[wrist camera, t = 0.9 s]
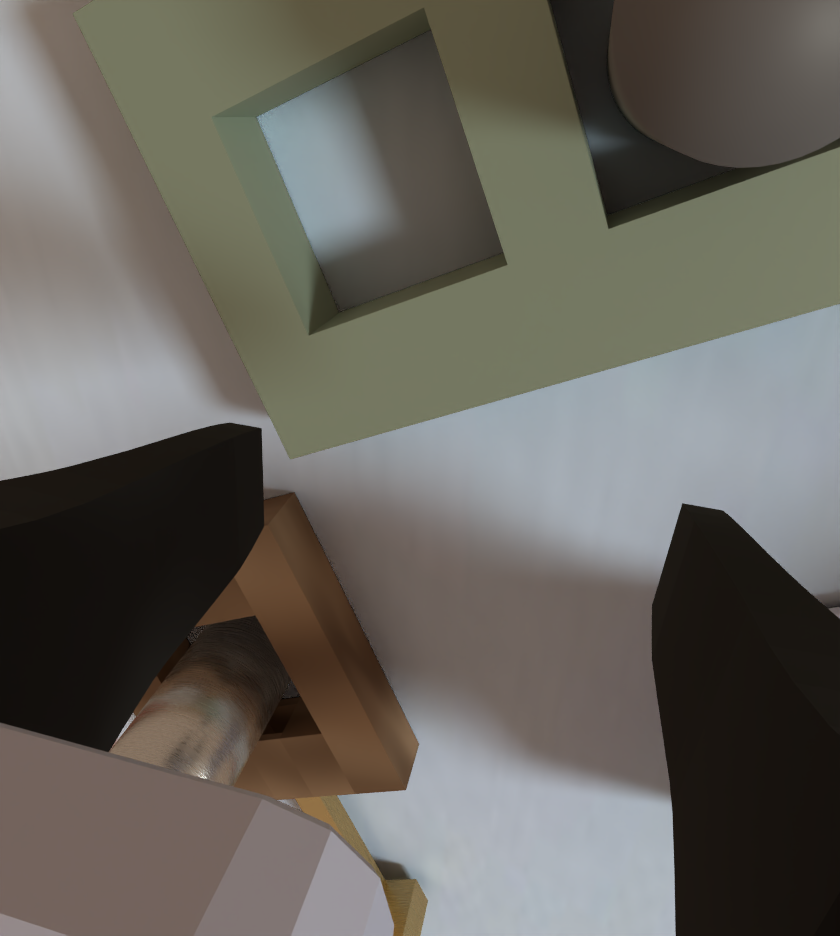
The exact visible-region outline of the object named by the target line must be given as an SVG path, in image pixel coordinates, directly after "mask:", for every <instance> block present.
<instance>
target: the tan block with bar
mask: <svg viewBox="0 0 840 936" xmlns="http://www.w3.org/2000/svg"><path fill="white" fill-rule="evenodd" d="M295 799H296V801H297V803H298V804H299V806H300V807H301V809H302V811H303V812H304V813H306V814H308V815H310V816H313V817H315V818H317V819H319V820H321V821H323V822H326V823H328V824H330V825H331V826H332V827H333V828H334V829H335V830H336V831H337V832H338V833H339V834H340V835H341V836H342V837H343V838H344V839H345V840H346V841H347V842H348V843H349V844H350V845H351V846H352V847H353V848H354V849H355V850H356V851H357V852H358V853H359V854H360V855H361V856H362V857H363V858H364V859H365V860H366V861H367V862H368V863H370V864H371V865H372V867H373V868H374V870H375V871H376V873H377V874H378V876H379V877H380V880H381V883H382V886H383V890H384V893H385V896H386V900H387V903H388V906H389V910H390V913H391V916H392V920H393V923H394V931H393V936H420V935H421V930H422V925H423V921H424V916H425V912H426V907H427V903H428V900H427V898H426V896H425V894H424V893H423V891H422V889H421V887H420V885H419V884H418V882H417V880H416V879H407V880H385V879H384V877H383V875H382V874H381V872H380V870H379V868H378V867H377V865H376V863H375V861H374V860H373V858H372V856H371V854H370V853H369V851H368V849H367V847H366V846H365V844H364V842H363V840H362V839H361V837H360V835H359V833H358V832H357V830H356V828H355V826H354V825H353V823H352V821H351V819H350V818H349V816H348V814H347V812H346V811H345V809H344V807H343V805H342V804H341V802H340V800H339V799H338V797H337V795H334V796H321V797H308V798H295Z"/></svg>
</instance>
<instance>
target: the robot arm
mask: <svg viewBox="0 0 840 936" xmlns="http://www.w3.org/2000/svg"><path fill="white" fill-rule="evenodd" d="M263 528H264V497H263V464H262V430H261V428H257V427H251V426H246V425H240V424H234V423H224V424H218V425H213V426H209V427H205V428H202V429H198V430H194V431H191V432H187V433H184V434H181V435H177V436H174V437H171V438H168V439H164V440H161V441H158V442H155V443H151V444H148V445H145V446H141V447H138V448H135V449H132V450H128V451H125V452H121V453H118V454H114V455H110V456H107V457H103V458H99V459H96V460H92V461H88V462H85V463H81V464H77V465H74V466H70V467H66V468H61V469H57V470H53V471H48V472H44V473H39V474H34V475H29V476H23V477H18V478H13V479H8V480H2V481H0V936H393V931H394V923H393V920H392V916H391V913H390V910H389V906H388V903H387V900H386V896H385V893H384V890H383V886H382V883H381V880H380V877H379V876H378V874H377V873H376V871H375V870H374V868H373V867H372V865H371V864H370V863H368V862H367V861H366V860H365V859H364V858H363V857H362V856H361V855H360V854H359V853H358V852H357V851H356V850H355V849H354V848H353V847H352V846H351V845H350V844H349V843H348V842H347V841H346V840H345V839H344V838H343V837H342V836H341V835H340V834H339V833H338V832H337V831H336V830H335V829H334V828H333V827H332V826H331V825H330V824H328V823H326V822H323V821H321V820H319V819H317V818H315V817H313V816H310V815H308V814H306V813H304V812H302V811H300V810H297V809H295V808H293V807H291V806H289V805H287V804H284V803H282V802H280V801H278V800H276V799H274V798H271V797H269V796H266V795H262V794H259V793H255V792H251V791H248V790H244V789H240V788H237V787H233V786H229V785H226V784H222V783H219V782H215V781H211V780H208V779H204V778H200V777H197V776H193V775H189V774H186V773H182V772H178V771H175V770H171V769H167V768H164V767H160V766H157V765H153V764H149V763H146V762H142V761H138V760H135V759H131V758H127V757H124V756H120V755H116V754H113V753H109V751H110V749H111V748H112V746H113V744H114V743H115V741H116V739H117V737H118V736H119V734H120V732H121V731H122V729H123V727H124V726H125V724H126V723H127V721H128V719H129V718H130V716H131V715H132V713H133V712H134V710H135V708H136V707H137V705H138V704H139V702H140V700H141V699H142V697H143V696H144V694H145V693H146V691H147V689H148V688H149V686H150V685H151V683H152V682H153V680H154V679H155V677H156V676H157V674H158V673H159V672H160V670H161V669H162V668H163V666H164V665H165V664H166V662H167V661H168V659H169V658H170V657H171V656H172V654H173V653H174V652H175V651H176V649H177V648H178V647H179V646H180V644H181V643H182V642H183V641H184V639H185V638H186V637H187V636H188V634H189V633H190V632H191V631H192V629H193V628H194V627H195V626H196V624H197V623H198V622H199V621H200V619H201V618H202V617H203V616H204V614H205V613H206V612H207V611H208V610H209V608H210V607H211V606H212V605H213V603H214V602H215V601H216V600H217V598H218V597H219V596H220V594H221V593H222V592H223V591H224V589H225V588H226V587H227V586H228V584H229V583H230V582H231V580H232V579H233V578H234V576H235V575H236V574H237V573H238V571H239V570H240V569H241V567H242V565H243V563H244V562H245V560H246V558H247V557H248V555H249V553H250V552H251V550H252V548H253V546H254V545H255V543H256V541H257V539H258V537H259V535H260V534H261V532H262V530H263ZM652 662H653V670H654V677H655V684H656V691H657V698H658V705H659V712H660V719H661V726H662V732H663V739H664V746H665V753H666V760H667V766H668V773H669V780H670V790H671V800H672V811H673V839H674V868H675V922H676V936H840V607H834V608H827V607H825V606H824V605H823V604H822V603H821V602H819V601H818V600H817V599H816V598H815V597H814V596H813V595H812V594H810V593H809V592H808V591H807V590H806V589H805V588H804V587H803V586H802V585H800V584H799V583H798V582H797V581H796V580H795V579H794V578H793V577H792V576H791V575H790V574H789V573H788V572H787V571H785V570H784V569H783V568H782V567H781V566H780V565H779V564H778V563H777V562H776V561H775V560H774V559H773V558H772V557H771V556H770V555H769V554H768V553H767V552H766V551H765V550H764V549H763V548H762V547H761V546H760V545H759V544H758V543H757V542H756V541H755V540H754V539H753V538H752V537H751V536H750V535H749V534H748V533H747V532H746V531H745V530H744V529H743V528H742V527H741V526H740V525H739V524H738V523H736V522H735V521H734V520H733V519H732V518H731V517H730V516H729V515H728V514H726V513H725V512H724V511H722V510H716V509H711V508H705V507H700V506H694V505H688V504H683V503H682V507H681V510H680V513H679V517H678V520H677V524H676V527H675V530H674V534H673V537H672V540H671V544H670V547H669V550H668V554H667V557H666V561H665V564H664V567H663V571H662V574H661V577H660V581H659V584H658V587H657V591H656V594H655V598H654V601H653V604H652Z"/></svg>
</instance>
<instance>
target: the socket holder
mask: <svg viewBox="0 0 840 936" xmlns="http://www.w3.org/2000/svg"><path fill="white" fill-rule="evenodd" d="M255 615H256V617H257V619H258V621H259V622H260V624H261V626H262V628H263V630H264V631H265V633H266V635H267V637H268V639H269V640H270V642H271V644H272V646H273V648H274V649H275V651H276V653H277V655H278V656H279V658H280V660H281V662H282V664H283V665H284V667H285V669H286V671H287V673H288V674H289V676H290V678H291V680H292V682H293V683H294V685H295V687H296V689H297V691H298V692H299V694H300V696H301V697H296V698H289V699H282V700H280V702H279V704H278V706H277V707H276V709H275V711H274V713H273V715H272V717H271V718H270V720H269V722H268V724H267V726H266V728H265V729H264V731H263V733H262V735H261V737H260V739H259V740H258V742H257V744H256V746H255V748H254V750H253V752H252V753H251V755H250V757H249V759H248V761H247V763H246V764H245V766H244V768H243V770H242V772H241V774H240V775H239V777H238V779H237V781H236V783H235V785H234V786H233V787H237V788H240V789H244V790H248V791H251V792H255V793H259V794H262V795H266V796H269V797H271V798H274V799H276V800H282V799H295V798H308V797H321V796H334V795H347V794H360V793H373V792H386V791H399V790H406V788H407V784H408V781H409V777H410V774H411V770H412V767H413V763H414V760H415V756H416V753H417V749H418V746H419V743H418V741H417V739H416V737H415V735H414V733H413V731H412V729H411V727H410V725H409V723H408V721H407V719H406V717H405V715H404V713H403V711H402V709H401V707H400V705H399V703H398V701H397V699H396V697H395V695H394V693H393V691H392V689H391V687H390V685H389V683H388V681H387V679H386V676H385V674H384V672H383V670H382V668H381V666H380V664H379V662H378V660H377V658H376V656H375V654H374V652H373V650H372V648H371V646H370V644H369V642H368V640H367V638H366V636H365V634H364V632H363V630H362V628H361V626H360V624H359V622H358V620H357V618H356V616H355V614H354V612H353V610H352V608H351V606H350V604H349V602H348V600H347V598H346V596H345V594H344V592H343V590H342V588H341V586H340V584H339V582H338V580H337V578H336V576H335V573H334V571H333V569H332V567H331V565H330V563H329V561H328V559H327V557H326V555H325V553H324V551H323V549H322V547H321V545H320V543H319V541H318V539H317V537H316V535H315V533H314V531H313V529H312V527H311V525H310V523H309V521H308V519H307V517H306V515H305V513H304V511H303V509H302V507H301V505H300V503H299V501H298V499H297V497H296V495H295V493H294V492H293V493H289V494H286V495H282V496H278V497H274V498H270V499H267V500H264V528H263V530H262V532H261V534H260V535H259V537H258V539H257V541H256V543H255V545H254V546H253V548H252V550H251V552H250V553H249V555H248V557H247V558H246V560H245V562H244V563H243V565H242V567H241V569H240V570H239V571H238V573H237V574H236V575H235V576H234V578H233V579H232V580H231V582H230V583H229V584H228V586H227V587H226V588H225V589H224V591H223V592H222V593H221V594H220V596H219V597H218V598H217V600H216V601H215V602H214V603H213V605H212V606H211V607H210V608H209V610H208V611H207V612H206V613H205V614H204V616H203V617H202V618H201V619H200V621H199V622H198V623H197V624H196V626H195V627H198V626H203V625H208V624H213V623H218V622H224V621H229V620H234V619H239V618H244V617H250V616H255ZM190 646H191V645H190V644H189V642H188V640H187V639H186V638H185V639H184V641H183V642H182V643H181V644H180V646H179V647H178V648H177V649H176V651H175V652H174V653H173V654H172V656H171V657H170V658H169V659H168V661H167V662H166V664H165V665H164V666H163V668H162V669H161V670H160V672H159V673H158V674H157V676H156V677H155V679H154V680H153V682H152V683H151V685H150V686H149V688H148V689H147V691H146V693H145V694H144V696H143V697H142V699H141V700H140V702H139V704H138V705H137V707H136V708H135V710H134V714H135V715H136V716H137V715H138V714H139V712H140V711H141V710H142V708H143V707H144V706H145V705H146V703H147V702H148V701H149V699H150V698H151V697H152V695H153V694H154V693H155V692H156V690H157V689H158V688H159V686H160V685H161V684H162V682H163V681H164V680H165V679H166V677H167V676H168V675H169V673H170V672H171V671H172V669H173V668H174V667H175V666H176V664H177V663H178V662H179V660H180V659H181V658H182V656H183V655H184V654H185V653H186V651H187V650H188V649H189V647H190Z"/></svg>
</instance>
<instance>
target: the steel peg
mask: <svg viewBox="0 0 840 936" xmlns="http://www.w3.org/2000/svg"><path fill="white" fill-rule="evenodd" d="M290 682H291V678H290V676H289V674H288V673H287V671H286V669H285V667H284V665H283V664H282V662H281V660H280V658H279V656H278V655H277V653H276V651H275V649H274V648H273V646H272V644H271V642H270V640H269V639H268V637H267V635H266V633H265V631H264V630H263V628H262V626H261V624H260V622H259V621H258V619H257V617H256V615H255V616H250V617H244V618H239V619H234V620H229V621H224V622H218V623H213V624H208V625H206V627H205V628H204V629H203V630H202V632H201V633H200V634H199V636H198V637H197V638H196V640H195V641H194V642H193V643H192V645H191V646H190V647H189V649H188V650H187V651H186V653H185V654H184V655H183V656H182V658H181V659H180V660H179V662H178V663H177V664H176V666H175V667H174V668H173V669H172V671H171V672H170V673H169V675H168V676H167V677H166V679H165V680H164V681H163V682H162V684H161V685H160V686H159V688H158V689H157V690H156V692H155V693H154V694H153V695H152V697H151V698H150V699H149V701H148V702H147V703H146V705H145V706H144V707H143V708H142V710H141V711H140V712H139V714H138V715H137V716H136V718H135V719H134V720H133V721H132V723H131V724H130V725H129V727H128V728H127V729H126V731H125V732H124V733H123V734H122V736H121V737H120V738H119V740H118V741H117V742H116V744H115V745H114V746H113V747H112V749H111V750H110V751H109V753H113V754H116V755H120V756H124V757H127V758H131V759H135V760H138V761H142V762H146V763H149V764H153V765H157V766H160V767H164V768H167V769H171V770H175V771H178V772H182V773H186V774H189V775H193V776H197V777H200V778H204V779H208V780H211V781H215V782H219V783H222V784H226V785H229V786H234V785H235V783H236V781H237V779H238V777H239V775H240V774H241V772H242V770H243V768H244V766H245V764H246V763H247V761H248V759H249V757H250V755H251V753H252V752H253V750H254V748H255V746H256V744H257V742H258V740H259V739H260V737H261V735H262V733H263V731H264V729H265V728H266V726H267V724H268V722H269V720H270V718H271V717H272V715H273V713H274V711H275V709H276V707H277V706H278V704H279V702H280V700H281V698H282V696H283V695H284V693H285V691H286V689H287V687H288V685H289V684H290Z"/></svg>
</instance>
